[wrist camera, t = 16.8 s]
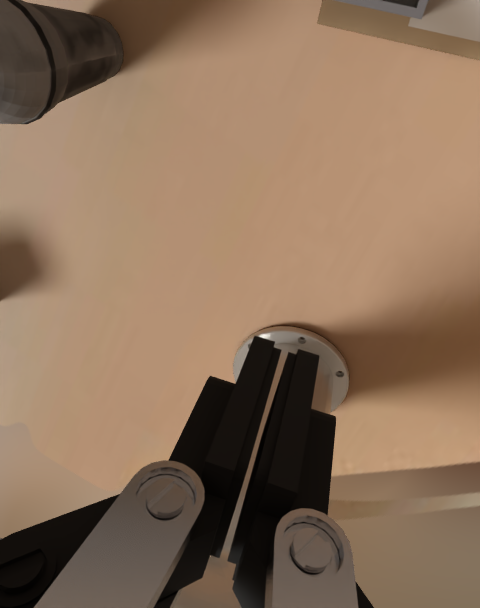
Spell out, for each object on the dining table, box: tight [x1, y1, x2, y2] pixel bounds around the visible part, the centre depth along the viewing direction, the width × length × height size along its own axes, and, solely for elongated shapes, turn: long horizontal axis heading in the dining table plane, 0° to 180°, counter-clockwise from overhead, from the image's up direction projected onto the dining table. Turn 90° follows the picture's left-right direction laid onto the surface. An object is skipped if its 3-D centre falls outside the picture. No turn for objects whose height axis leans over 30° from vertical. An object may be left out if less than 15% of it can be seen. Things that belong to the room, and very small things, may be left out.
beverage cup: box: [0, 0, 123, 124], centre depth 28 cm, size 7×7×20 cm
